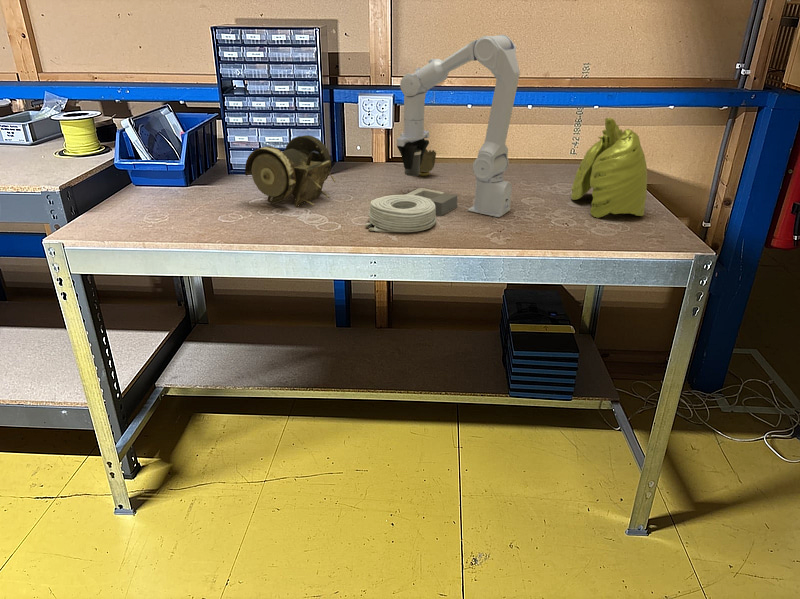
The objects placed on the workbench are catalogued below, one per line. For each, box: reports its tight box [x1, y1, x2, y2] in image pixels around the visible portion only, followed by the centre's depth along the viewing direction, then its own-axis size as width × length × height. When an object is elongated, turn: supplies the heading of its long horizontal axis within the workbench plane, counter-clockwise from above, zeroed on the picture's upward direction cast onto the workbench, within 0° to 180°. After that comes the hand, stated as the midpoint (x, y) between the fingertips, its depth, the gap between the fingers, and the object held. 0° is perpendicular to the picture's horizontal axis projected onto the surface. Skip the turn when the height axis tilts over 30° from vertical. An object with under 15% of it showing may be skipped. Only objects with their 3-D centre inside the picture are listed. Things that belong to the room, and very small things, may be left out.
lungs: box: [570, 117, 648, 219], centre depth 160 cm, size 25×16×24 cm, turn 6°
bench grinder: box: [244, 134, 336, 207], centre depth 162 cm, size 20×22×20 cm
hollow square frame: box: [404, 187, 459, 217], centre depth 162 cm, size 12×9×4 cm
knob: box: [404, 148, 421, 177], centre depth 169 cm, size 5×5×7 cm
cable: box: [364, 194, 437, 233], centre depth 150 cm, size 18×18×6 cm
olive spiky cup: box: [418, 148, 437, 178], centre depth 189 cm, size 8×7×8 cm
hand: (412, 166), depth 170 cm, fingers closed on knob, 4 cm apart
